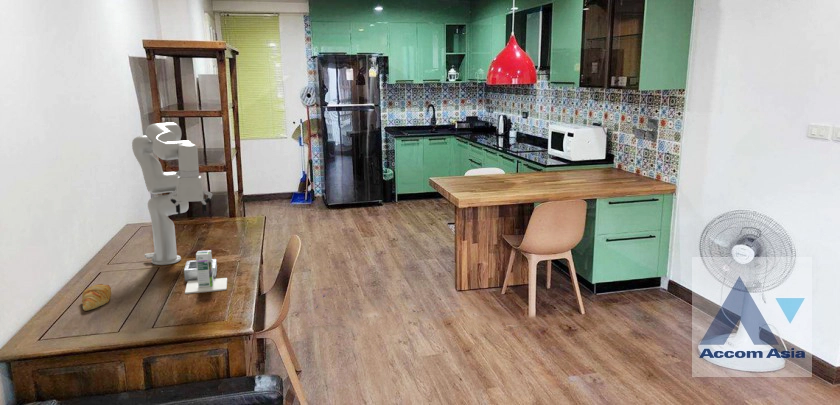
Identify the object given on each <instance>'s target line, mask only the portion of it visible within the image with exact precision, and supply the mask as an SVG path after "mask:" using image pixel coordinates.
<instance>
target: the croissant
mask: <svg viewBox="0 0 840 405" xmlns="http://www.w3.org/2000/svg"><path fill="white" fill-rule="evenodd" d="M111 297H112V287H111V286H110V285H109V284H103V283H100V284H94V285H91V286H89V287H87V288H86V289H84V291H83V292H82V294H81V302H82V310H84V311H91V310H94V309H97V308H99V307H101V306H104V305H106V304H108V303H109V301H110V300H111Z"/></svg>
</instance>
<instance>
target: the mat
mask: <svg viewBox="0 0 840 405" xmlns="http://www.w3.org/2000/svg"><path fill="white" fill-rule="evenodd" d="M213 281H214V282H213V286H212V287H200V288H199V287H198V280H195V281H186V282H187V283H186V286H185V291H184V294H185V295H189V294H197V293H207V292H208V293H209V292H210V293H211V292H218V291H219V292H221V291H227V289H228V278H227V277H221V278H216V279H213Z"/></svg>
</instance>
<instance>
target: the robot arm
mask: <svg viewBox="0 0 840 405" xmlns="http://www.w3.org/2000/svg"><path fill="white" fill-rule="evenodd" d="M182 136H183V135H182V129H181V126H179V125H178V124H177V123H175V122H159V123H152V124H149V125H147V127H146V129H145V135H144V134H143V135H139V136H136V137H134V138H133V139H132V142H131V147H132V152H133V155H134V157H135V159H136V162H138V163H139V166H140V168H141V172H142V175H143V179H144V183H145V187H146V190H147V191H148V193H149V194H153V195H154V194H155V195H156V194H157V195H156V196H152V197H151V198H149V200H148V201H147V209H148V212H149V217H150V220H151V221H150V222H151V229H152V239H153V248H154V252H151V253H144V259H148V260H150V259H151V263H152V264H154V265H158V266H166V265H172V264H176V263H179V262H180V261H181V260H182V257H181V255H178V251H177V238H176V228H175V227H176V226H175V223H174V221H173V220H172V219H170V218H169V216H172V215H177V216H180V215H181V214H183V213H186V212H187V211H188V210H189V209H190V208H189V205H190V204H189V202H201V203H202V205H201V206H202V211H201V212H202V214H203V215H205V214H206V213H205V212H207V204H208V203H209V202H210V201H211V199H212V197H213V193H212V192H210V191H208V190H205V189H204V186H203V180H202V176H201V175H200V174H199V173H200V169H199V168H200V167H199V150H198V145H196V143H195V144H194V143H193V142H191V141H190V140H181V139H182ZM152 154H155V156H157V157H158V158H159V159H160V160H163V161H171V160H172V161H173V160H177V161H178V170H175V171H164V170H163V166H162V164H161V161H159V159H157V158H156V157H155V156H154V155H152ZM166 193H168V194H166ZM158 194H162V195H158ZM204 195H207V197H206V198H204Z"/></svg>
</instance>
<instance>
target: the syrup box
mask: <svg viewBox="0 0 840 405" xmlns="http://www.w3.org/2000/svg"><path fill="white" fill-rule="evenodd" d="M212 259H213V256H212V249H210V250H209V249H208V250H198V251H197V252H196V253H195V260H196V264H197V275H198V287H199V288H200V287H212V286H213V282H214V281H213V266H212Z"/></svg>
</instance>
